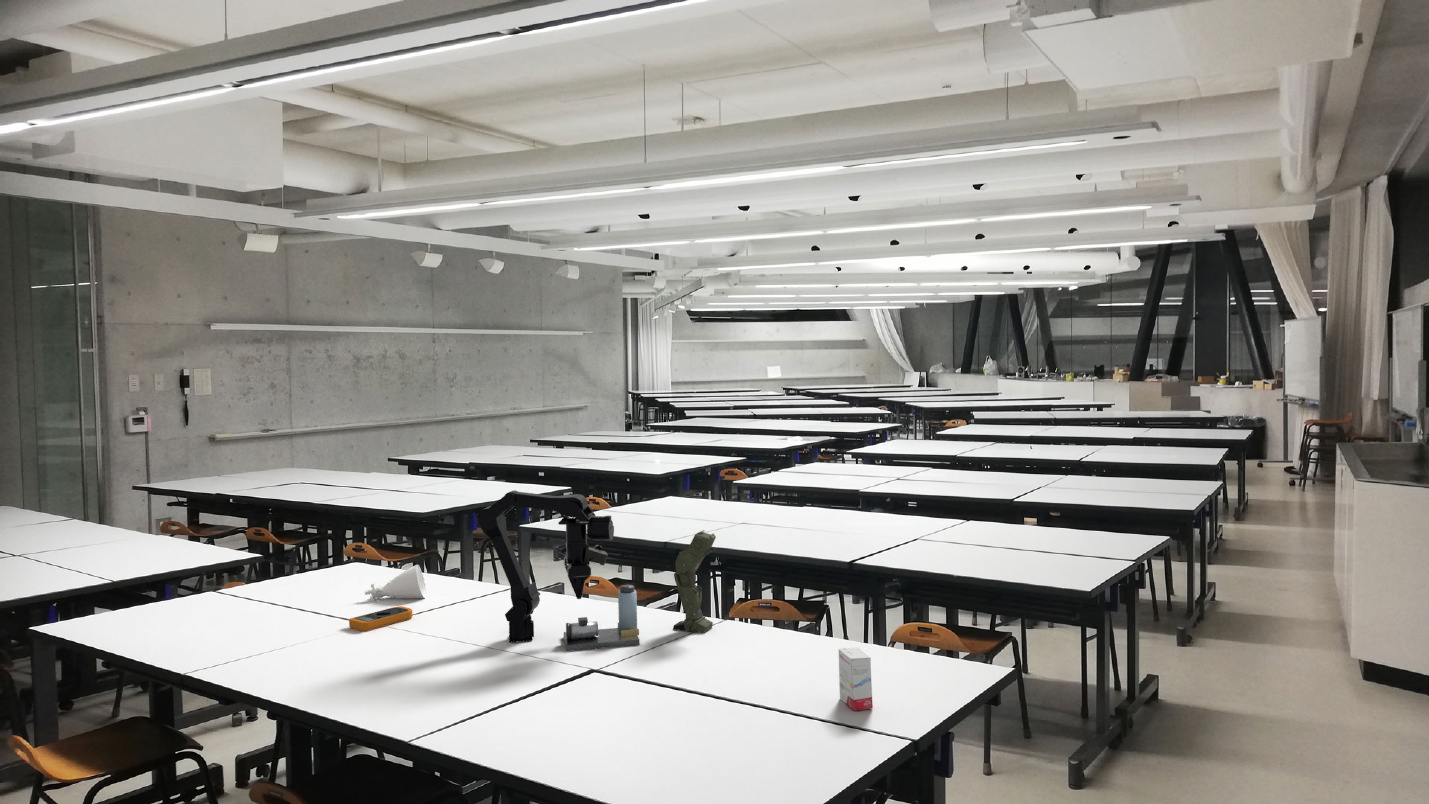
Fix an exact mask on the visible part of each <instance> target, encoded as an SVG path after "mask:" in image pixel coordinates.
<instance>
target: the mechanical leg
mask: <svg viewBox="0 0 1429 804" xmlns="http://www.w3.org/2000/svg"><path fill="white" fill-rule="evenodd" d="M716 539H717V537H716V535H715V533H711V534H710V533H708V532H707V533H706V532H705V530H704V529H703V530H701V531H699V532H697V533H694V536H693V538H692V540H691V542H690V544H689V547H687V548H686V549H684V550H681V552H679V553H678V555H677V557H676V560H675V562H674V564H675V572H674V573H673V577H674V578H673V579H674V581H675V584H676V587H677V591H678V595H679V599H680V601H681V607H682V609H683V610H684V612H685V619H684V620H680V621H678V622H676V623H675V624H674V625H673V627H672V629H673V630H675V631H682V632H695V633H704V634H705V633H707V632H708V631H710V630H711V629H713V621H711V620H709V619H707V618H706V616H705V615H703V611H702V608H701V604H702V601H703V588H702V587H701V586H700V585H696V582H697V581H696V579H697V574H696V572H697V571H698V569H699V567H700V566H701V564H702V562H703V560H704V559H705V557H706V556H707V555H709V554H711V553H713V552H715V551H716V547H713V545H714V542H715V540H716Z"/></svg>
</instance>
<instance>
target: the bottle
mask: <svg viewBox="0 0 1429 804" xmlns="http://www.w3.org/2000/svg"><path fill="white" fill-rule="evenodd" d="M619 588H620V589H619V590H618V592H617V600H618V601H617V602H618V607H617V609H618V623H619V633H621V630H626V629H638V604H637V602H638V600H637V599H638V598H637V590H636V589H635V585H632V584H623V585H620V586H619Z"/></svg>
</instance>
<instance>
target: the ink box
mask: <svg viewBox="0 0 1429 804" xmlns="http://www.w3.org/2000/svg"><path fill="white" fill-rule="evenodd" d="M871 663H872V662H871V657H870V656H869V655H868V654H867V653H866V652H864V651H863V650H862V649H861V648H859V647H858V646H854V647H844V648H842V647H841V648H838V674H839V675H838V679H839V683H838V684H839V699H840V700H841V699H842V700H843V701H842V700H841V701H842V702H843V703H844V702H845V703H846V704H845V703H844V704H845V705H846V706H848V705H849V706H848V707H849V708H850V709H851V708H852V709H853V710H854V712H857V710H859V711H863V710H864V711H865V710H869V709H870V708H871V709H873V708H874V706H873V687H872V666H871ZM852 709H851V710H852ZM853 710H852V711H853Z"/></svg>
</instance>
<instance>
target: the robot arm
mask: <svg viewBox="0 0 1429 804" xmlns="http://www.w3.org/2000/svg"><path fill="white" fill-rule="evenodd" d="M514 507H519V508H520V507H521V508H527V509H535V510H536V509H537V510H538V509H539V510H546V511H552V512H555V513H558V514H559V515H562V516H563V517H562V519H560V521H558V522H557V524H558V525H559V526H560V525H565V537H566V539H565V540H566V541H565V548H566V554H565V555H564V557H563V564H564V568H565V571H566V573H567V578H568V580H569V583H570V585H571V588H572V590H573V592H574V595H575V597H576V599H577V600H582V596H583V592H584V586H585V582H586V581H587V580H588V579H589V578H590V577H591V576H592V568H591V566H590V564H589V563H590V562H593V563H596V564H599V565H601V566H605V564H606V561H607V559H608V556H609V555H608V553H607V551H605V550H603V546H602V545H599V544H596V545H594V546H593V547H591V546H589V543H588V539H590V540H591V541H612V540H614V539H613V538H614V533H615V526H614V523H613V520H612V515H602V516H599V515H596V514H595V513H594V511H593V510H592V508H591V507H590V506H589V502H588V500H587V498H586V496H585V495H583V494H579V493H575V494H564V495H551V494H550V495H548V494H541V493H533V492H532V493H531V492H525V491H524V492H523V491H518V490H511V491H509V492H506V493H504V495H503V496H502V497H501V498H499V500H497V501H496V502H494V503H493V504H492V505H490V506H487V507H485V508H482V509H481V510H479V511H478V514H477V516H476V523H477V525H478V526H479V528H480V529H481V531H482V532H483V534H484V535H485V536H486V537H488V539H489V540H490V541H491V543H492V545H493V548H494V550H495V552H496V555H497V556H498V559H499V563H500V565H501V567H502V569H503V572H504V574H505V576H506V579H507V581H508V583H509V586H510V599H511V605H512V606H511V608H510V609H508V610H507V612H505V614H504V616H505V619H506V621H507V622H508V633H509V634H508V643H522V642H532V641H533V638H534V637H535V630H534V629H535V626H534V625H535V623H534V620H532V615H533V613H534V612H535V611H534V610H535V609H536V608H537V607H538V606H539V605H540V601H541V599H540V595H541V593H540V592H539V590H538V588H537V584H536V582H535V581H534V582H532V583H530V582H529V581H528V580H527V578H526V577H525V575H524V572H523V570H522V567H521V565H520V562H519V560H518V557H517V556H516V553H515V551H514V548H513V546H512V543H511V541H510V538H509V536H508V533H507V520H506V517H505V515H506V514H507V513H509V512H510V511H511V510H512V509H513V508H514Z"/></svg>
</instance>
